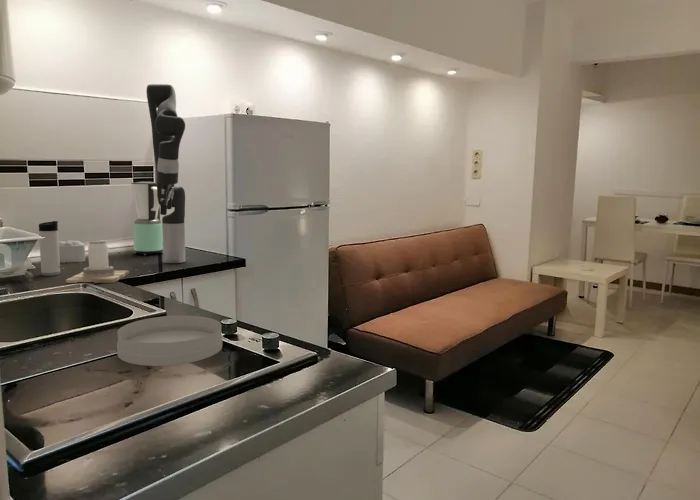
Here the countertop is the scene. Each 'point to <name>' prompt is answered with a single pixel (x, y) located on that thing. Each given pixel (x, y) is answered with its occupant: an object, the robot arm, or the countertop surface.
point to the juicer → (147, 219)
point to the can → (98, 256)
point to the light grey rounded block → (71, 251)
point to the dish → (169, 340)
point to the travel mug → (49, 248)
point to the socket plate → (96, 279)
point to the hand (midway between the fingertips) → (165, 211)
